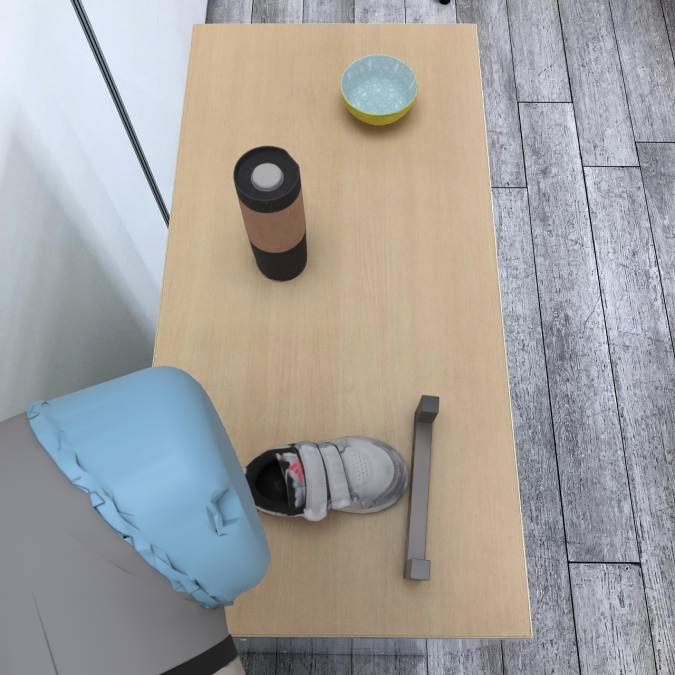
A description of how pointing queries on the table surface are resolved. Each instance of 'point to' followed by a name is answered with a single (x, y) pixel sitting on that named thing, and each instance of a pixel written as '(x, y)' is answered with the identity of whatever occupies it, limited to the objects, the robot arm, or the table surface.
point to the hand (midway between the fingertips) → (54, 528)
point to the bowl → (378, 88)
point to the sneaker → (327, 477)
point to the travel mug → (273, 210)
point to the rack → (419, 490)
